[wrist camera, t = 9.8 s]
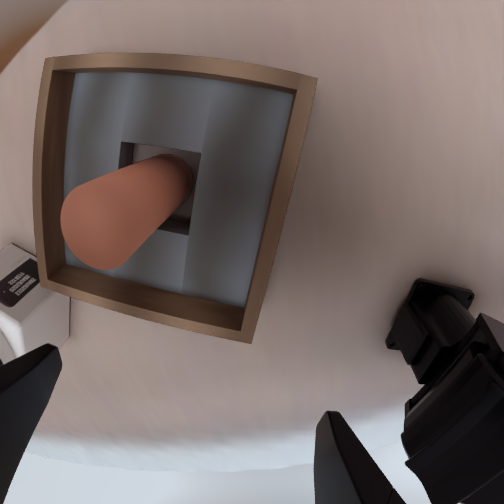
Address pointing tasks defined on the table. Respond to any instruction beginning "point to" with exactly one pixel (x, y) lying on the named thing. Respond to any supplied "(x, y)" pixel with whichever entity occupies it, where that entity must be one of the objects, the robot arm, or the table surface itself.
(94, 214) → the peg
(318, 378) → the table surface
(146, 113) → the box
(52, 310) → the container
